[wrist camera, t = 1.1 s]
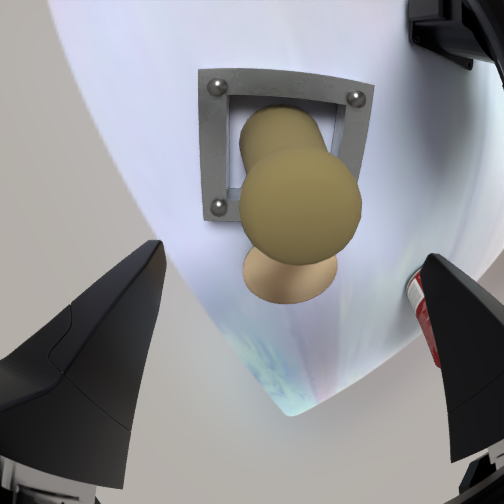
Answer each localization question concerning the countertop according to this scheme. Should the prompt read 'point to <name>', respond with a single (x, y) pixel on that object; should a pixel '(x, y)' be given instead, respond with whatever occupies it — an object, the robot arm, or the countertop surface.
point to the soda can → (422, 312)
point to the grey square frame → (280, 85)
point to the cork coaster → (286, 278)
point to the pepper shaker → (295, 189)
